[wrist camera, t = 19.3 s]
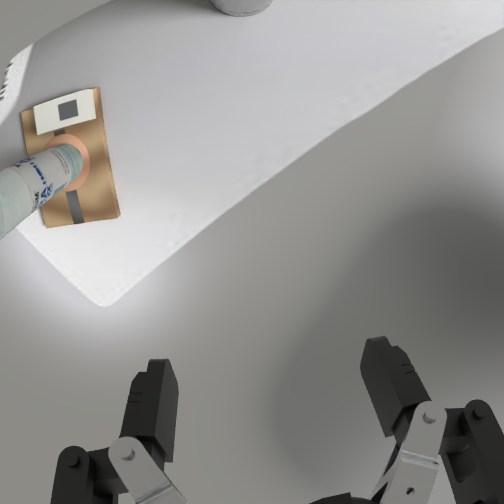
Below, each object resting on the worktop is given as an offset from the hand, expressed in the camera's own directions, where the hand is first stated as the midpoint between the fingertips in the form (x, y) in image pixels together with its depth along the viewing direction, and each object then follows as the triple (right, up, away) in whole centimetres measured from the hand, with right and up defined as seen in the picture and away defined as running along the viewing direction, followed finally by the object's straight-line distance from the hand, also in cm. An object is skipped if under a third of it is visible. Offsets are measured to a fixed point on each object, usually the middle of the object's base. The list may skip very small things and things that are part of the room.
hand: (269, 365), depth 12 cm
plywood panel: (-29, +18, +29) cm, 45 cm away
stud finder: (-27, +25, +24) cm, 44 cm away
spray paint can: (-28, +18, +28) cm, 43 cm away
